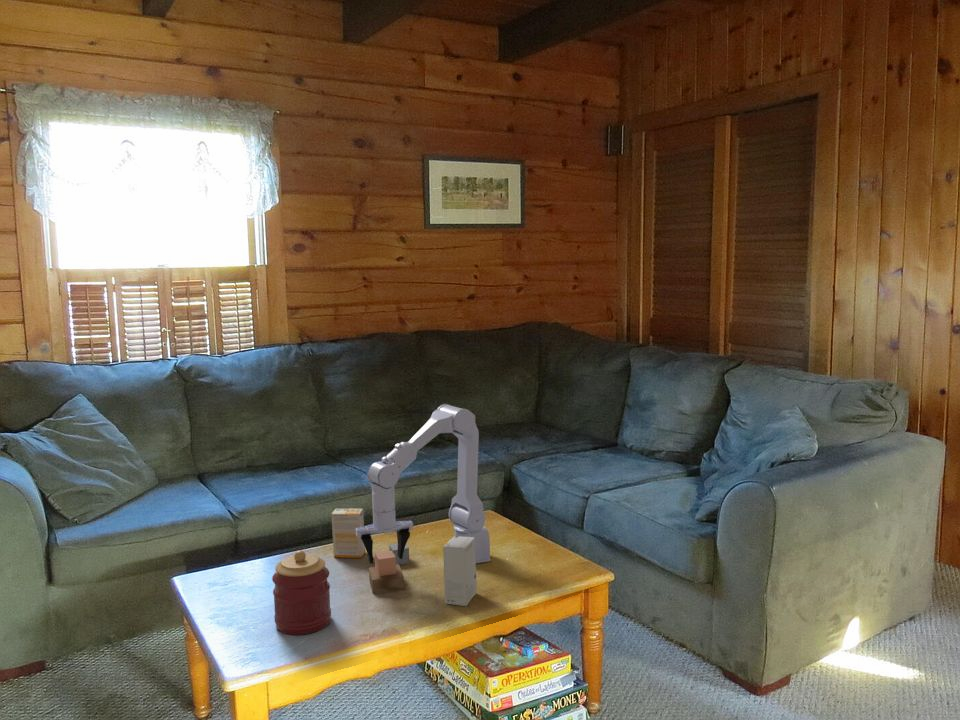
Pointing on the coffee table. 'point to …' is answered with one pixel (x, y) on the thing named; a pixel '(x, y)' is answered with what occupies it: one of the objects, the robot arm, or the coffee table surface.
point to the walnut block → (386, 581)
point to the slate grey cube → (395, 551)
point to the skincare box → (459, 570)
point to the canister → (301, 594)
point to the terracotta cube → (385, 563)
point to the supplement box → (347, 533)
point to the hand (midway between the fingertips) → (385, 559)
